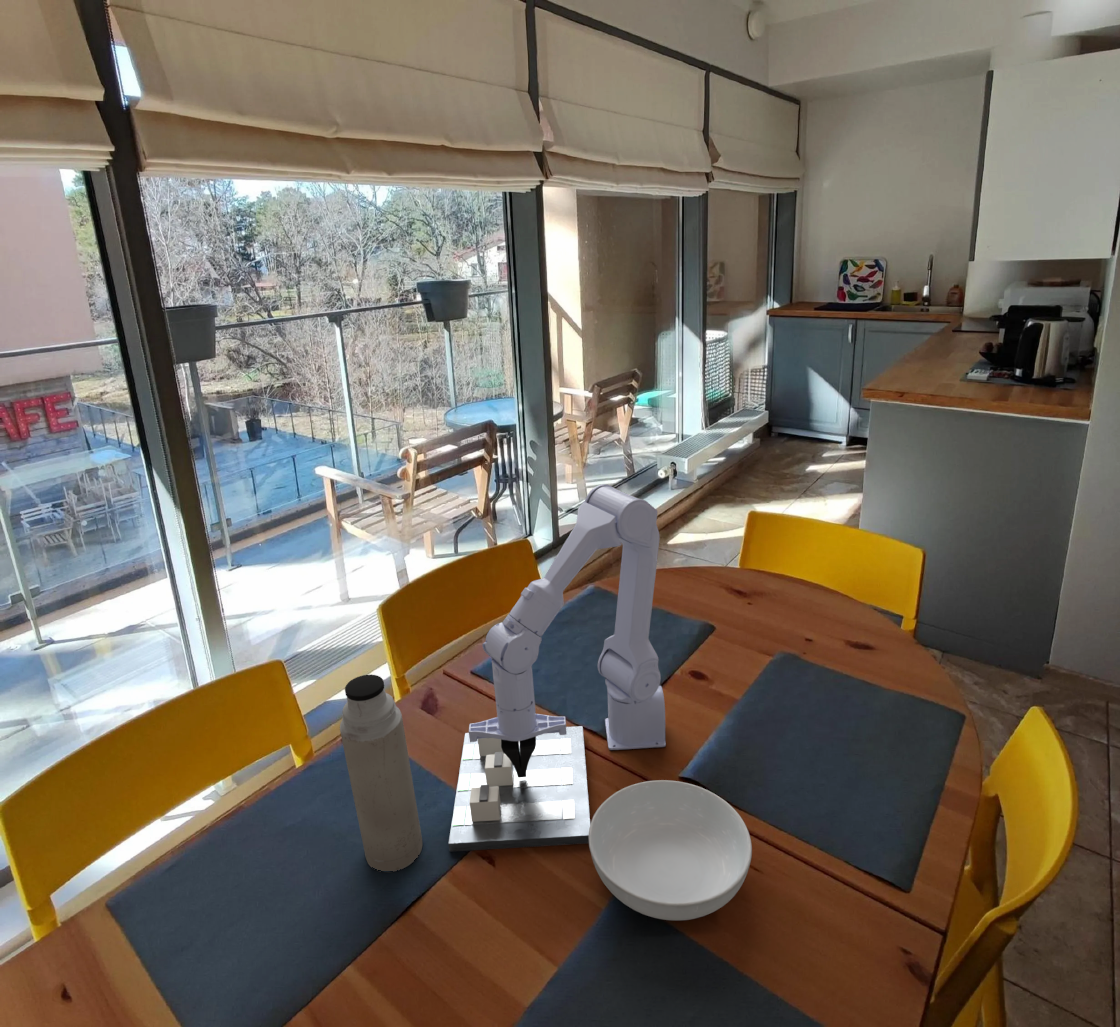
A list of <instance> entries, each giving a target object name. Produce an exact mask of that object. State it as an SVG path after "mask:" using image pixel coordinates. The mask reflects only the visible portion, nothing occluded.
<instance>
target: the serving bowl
mask: <svg viewBox="0 0 1120 1027" xmlns="http://www.w3.org/2000/svg"><path fill="white" fill-rule="evenodd" d="M748 829H749V828H747V825H746V823H745V822H744V820H743V818H742V817H741V815H740V814H739V812H738V811H737V810H736V809H735V807H733V806H732V805H731V804H730V803H728V802H727V801H726V800H725V799H723V798H722V797H720V796H718V795H717V793H716V794H715V793H714V792H712V791H710V790H708V789H707V788H706V789H705V788H703V787H702V786H698V785H695V784H692V783H688V782H683V781H678V780H677V781H676V780H669V779H668V780H667V779H665V780H664V779H661V780H660V779H659V780H647V781H643V782H642V781H641V782H638V783H635V784H631V785H628V786H625V787H624V788H621V789H620V790H618V791H616V792H614V793H613V794H611V795H610V796H609V797H608V798H606V799H605V800H604V801H603V802H602V803H601V805H599V807H598V808H597V810H596V811H595V813H594V814H593V816H592V819H591V820H590V828H589V843H588V847H589V851H590V855H591V860H592V863H593V866H594V868H595V870H596V872H597V874H598V876H599V878H600V879H601V882H602V883H603V884H604V885H605V886H606V888H607V889H608V890H609V892H610V893H611V894H612V895H613V896H614V897H615V898H616V899H617V900H619V901H620V902H621V903H622V904H624V905H625V906H627V907H629V908H630V909H632V910H633V911H635V912H637V913H639V914H642V915H644V916H648V917H651V918H654V919H658V920H664V921H665V920H666V921H689V920H695V919H700V918H702V917H705V916H707V915H709V914H712V913H714V912H716V911H718V910H720V908H721V909H722V908H723V907H724V906H725V905H726V904H728V903H729V902H730V901H731V900H732V899H733V898H734V897H735V896H736V895H737V893H738V891H740V889H741V887H742V886H743V883H744V882H745V879H746V877H747V875H748V872H749V869H750V865H751V861H752V855H753V846H752V840H751V835H750V832H749V830H748Z"/></svg>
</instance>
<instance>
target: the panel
mask: <svg viewBox="0 0 1120 1027" xmlns="http://www.w3.org/2000/svg"><path fill="white" fill-rule="evenodd" d="M583 727H584V726H582V725H578V726H566V732H567V734H566V735H560V734H559V733H546V734H542V735H538V736H536V747H535V750H534V752H533V753H532V755H531V757H530V760H529V762H528V766H527V771H526V777H520V778H518V776H517V773H516V770H515V768H514V766H513V769H514V776H513V785H504V786H499V794H500V803H501V808H500V820H493V821H476V822H472V818H471V810H470V795H471V788H476V787H481V785H487V782H486V774H485V762H486V756H480V755H479V747H478V739H477V741H476V742H470V739H469V732H464V739H463V746H462V753H461V759H460V765H459V766H460V767H459V771H458V772H459V774H458V779H457V785H456V793H455V799H454V806H453V812H452V818H451V826H450V831H449V832H450V833H449V837H448V850H449V852H466V851H467V852H470V851H484V850H497V849H498V850H500V849H502V850H503V849H515V848H516V849H517V848H533V847H534V848H536V847H549V846H550V847H553V846H570V845H582V844H583V845H586V844H589V828H590V824H591V819H590V815H591V814H590V805H589V804H590V802H589V792H588V780H587V779H588V778H587V777H588V776H587V764H586V755H585V754H586V752H585V739H584V728H583ZM519 746H520V741H519ZM519 749H520V747H519ZM504 754H505V753H504ZM489 787H493V786H489Z"/></svg>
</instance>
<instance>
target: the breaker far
mask: <svg viewBox="0 0 1120 1027" xmlns="http://www.w3.org/2000/svg"><path fill="white" fill-rule="evenodd" d="M478 747H479V755H480V756H486V755H493V754H495V752H503V751H502V748H501V739H496V738H481V739H478ZM503 754H504V753H503Z"/></svg>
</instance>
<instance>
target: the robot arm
mask: <svg viewBox="0 0 1120 1027" xmlns="http://www.w3.org/2000/svg"><path fill="white" fill-rule="evenodd" d="M657 520H658V510H657V509H656V508H655V507H654V506H653V505H652V504H651V503H649V502H648V501H647V500H646V499H642V498H638V497H635V496H633V495H631V494H628V493H627V492H624V491H622V490H619V489H617V488H615V487H613V486H612V485H610V484H607V483H602V484H598V485H596V486H594V487H593V488H592V489H591V490H590V491H589V492H588V494H587V495H586V497H585V500H584V501H583V502H582V503H581V504H580V505H579V507H578V509H577V516H576V523H575V525H574V526H573V528H572V530H571V532H570V533H569V536H568V537H567V538H566V540H565V541H564V543H563V544H562V546H561V548H560V550H559V552H558V553H557V555H556V557H555V558H554V560H553V561H552V562H551V564H550V567H549V568H548V569H547V571H546V574H545V575H544V576H543V577H542V578H539V579H535V580H533V581H531V582H530V583H529V584H528V586H527V587H524V589H523V590H522V591H521V593H520V597H519V599H518V600H517V602H516V603H515V605H514V606H513V607H512V608H511V610H510V612H509V613H508V614H507V616H506V617H505V618H504V620H503V621H502V622H498V623H496V624H494V625H493V626H492V627H491V628H490V629H489V631H488V632H487V634H486V636H485V641H484V642H483V643H482V644H481V646H482V650H483V651H484V653H486V655H488V656H489V657H490V658H491V667H492V678H493V688H494V696H495V706H496V717H492V718H489V719H485V720H482V721H479V722H474V723H469V726H468V733H469V739H470V742H476V741H477V739H481V738H496V739H501V748H502V751H503V753H505V754H506V755H507V757H508V758H509V759H510V761H511V762H512V764H513V766H514V768H515V770H516V773H517V776H518V778H520V777H526V771H527V766H528V762H529V760H530V757H531V755H532V753H533V752H534V750H535V747H536V736H538V735H542V734H546V733H559V734H560V735H566V734H567V732H566V727H567V722H566V720H567V719H566V716H555V715H547V714H542V713H541V714H540V713H536V701H535V699H536V698H535V690H534V676H533V665H534V663H535V662H537V660H538V657H539V652H540V645H541V643H542V641H543V640H542V637H543V635H544V634H545V632H546V630H547V629H548V628H549V627H550V625H551V623H552V622H553V621H554V619H555V618H556V616H557V615H558V614H559V612H560V611H561V609H562V608H563V606H564V591H565V589H567V587H568V586H569V584H571V582H572V581H573V580H574V578H575V577H576V576H577V575H578V574H579V572H580V571H581V570H582V568H583V567H584V566H585V565H586V564H587V562H588V561H589V560H590V559H591V557H592V556H593V555H594V553H595V552H596V551H597V550H603V549H610V548H617V547H620V546H622V552H621V563H620V572H619V582H618V584H619V585H618V591H617V592H618V594H617V603H616V613H615V614H616V615H615V625H614V632H613V635H610V636H609V637H607V638H605V639H604V641H603V642H604V643H603V649H602V651H601V654H600V655H599V657H598V661H597V670H598V673H599V674H600V676H601V677H604V679H605V680H604V681H605V685H606V691H607V714H608V717H607V718H604V724H605V731H606V740H607V747H608V750H609V751H619V750H632V749H633V750H634V749H636V750H637V749H649V748H650V749H651V748H652V749H654V748H665V747H666V746H667V743H666V707H665V706H666V705H665V703H666V702H665V697H664V696H665V695H664V691H663V690H664V689H663V687H662V685H661V677H662V676H661V671H660V669H659V657H658V654H657V652H656V650H655V649H654V647H653V645H652V643H651V641H650V639H649V636H650V626H651V620H652V609H653V600H654V594H655V593H654V592H655V581H656V575H657V574H656V573H657V567H658V566H657V564H658V555H659V548H660V546H659V545H660V532H659V528H658V525H657ZM519 741H520V746H519ZM519 747H520V749H519Z"/></svg>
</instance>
